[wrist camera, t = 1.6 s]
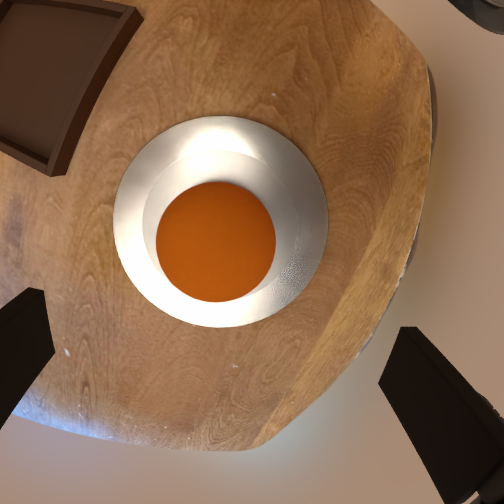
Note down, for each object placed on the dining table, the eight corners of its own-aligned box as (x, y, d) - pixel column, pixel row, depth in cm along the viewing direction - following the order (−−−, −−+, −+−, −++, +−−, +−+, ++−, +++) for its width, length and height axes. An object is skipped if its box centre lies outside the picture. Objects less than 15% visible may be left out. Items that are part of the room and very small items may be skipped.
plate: (341, 136, 23) (344, 135, 23) (304, 330, 28) (306, 335, 28) (125, 111, 22) (122, 109, 21) (117, 310, 27) (113, 314, 26)
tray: (144, 19, 19) (136, 7, 17) (65, 175, 23) (50, 177, 20) (15, -1, 16) (4, -8, 13) (-41, 120, 19) (-55, 120, 17)
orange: (275, 185, 23) (296, 197, 16) (261, 281, 26) (272, 331, 18) (173, 173, 23) (144, 180, 15) (166, 270, 25) (141, 316, 17)
